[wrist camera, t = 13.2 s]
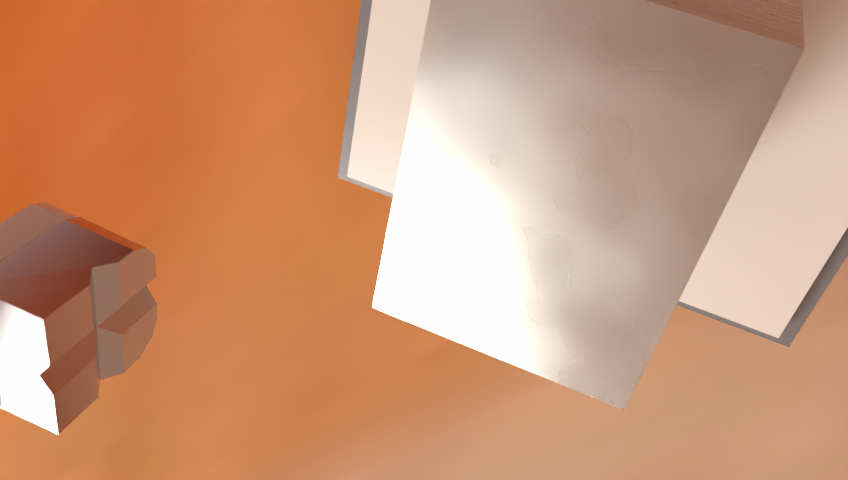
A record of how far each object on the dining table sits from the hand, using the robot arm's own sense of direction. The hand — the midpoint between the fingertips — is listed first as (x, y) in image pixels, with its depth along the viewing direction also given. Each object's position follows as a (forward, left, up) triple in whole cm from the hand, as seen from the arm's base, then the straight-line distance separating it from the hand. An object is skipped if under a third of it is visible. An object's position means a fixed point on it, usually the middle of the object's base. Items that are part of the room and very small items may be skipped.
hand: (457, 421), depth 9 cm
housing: (0, 0, -13) cm, 13 cm away
